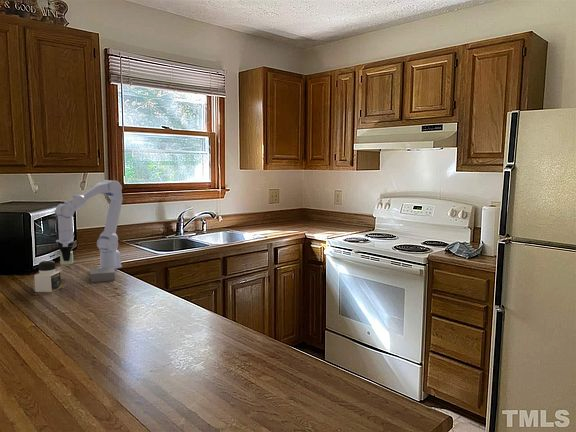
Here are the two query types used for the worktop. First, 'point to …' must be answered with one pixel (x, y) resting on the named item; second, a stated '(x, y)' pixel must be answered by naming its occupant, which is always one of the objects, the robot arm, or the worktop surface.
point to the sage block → (66, 261)
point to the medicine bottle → (47, 277)
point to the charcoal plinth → (102, 274)
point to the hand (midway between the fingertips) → (67, 259)
